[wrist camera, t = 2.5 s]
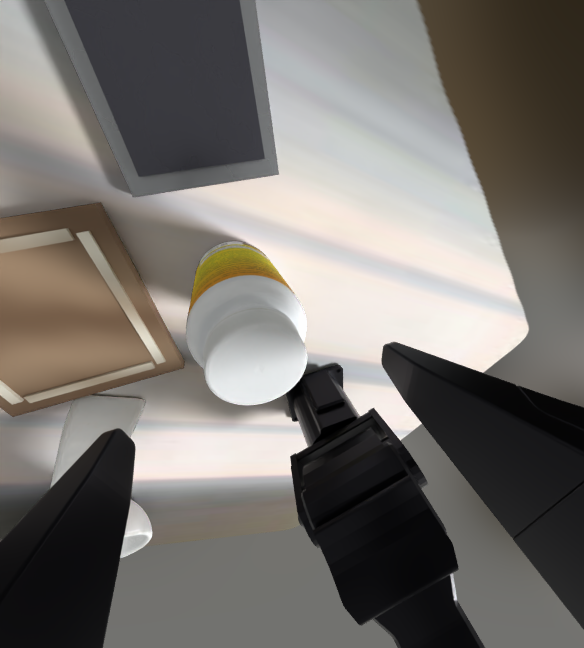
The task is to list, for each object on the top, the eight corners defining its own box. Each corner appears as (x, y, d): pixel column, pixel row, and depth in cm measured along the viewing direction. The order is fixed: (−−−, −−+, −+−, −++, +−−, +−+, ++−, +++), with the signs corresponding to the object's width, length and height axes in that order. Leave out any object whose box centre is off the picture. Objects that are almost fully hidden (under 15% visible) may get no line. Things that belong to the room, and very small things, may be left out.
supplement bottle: (179, 258, 15) (138, 347, 7) (256, 227, 16) (307, 274, 7) (219, 322, 18) (224, 437, 10) (282, 295, 19) (339, 384, 10)
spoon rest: (151, 523, 31) (136, 604, 25) (31, 542, 25) (-24, 649, 20) (187, 396, 21) (177, 475, 16) (11, 385, 16) (-102, 497, 11)
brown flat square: (184, 361, 19) (183, 369, 18) (20, 408, 17) (10, 419, 16) (100, 202, 13) (93, 203, 12) (-182, 246, 11) (-215, 252, 10)
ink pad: (274, 175, 14) (281, 174, 13) (139, 196, 13) (129, 197, 12) (230, -129, 9) (233, -192, 7) (-12, -148, 8) (-67, -229, 6)
